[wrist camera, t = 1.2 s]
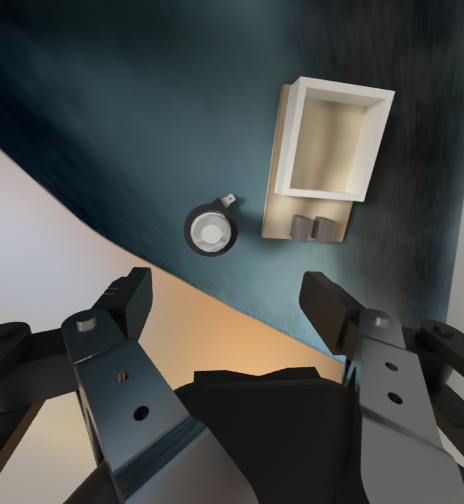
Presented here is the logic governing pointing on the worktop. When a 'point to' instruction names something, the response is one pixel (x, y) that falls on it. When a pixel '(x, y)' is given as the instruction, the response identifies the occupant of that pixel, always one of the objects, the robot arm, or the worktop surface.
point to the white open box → (367, 143)
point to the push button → (211, 228)
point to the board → (314, 171)
